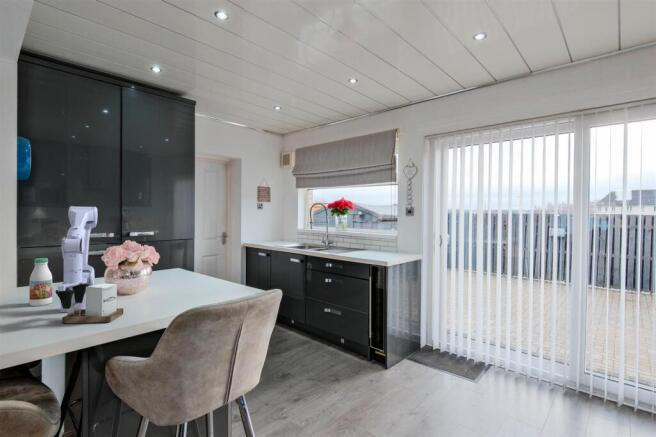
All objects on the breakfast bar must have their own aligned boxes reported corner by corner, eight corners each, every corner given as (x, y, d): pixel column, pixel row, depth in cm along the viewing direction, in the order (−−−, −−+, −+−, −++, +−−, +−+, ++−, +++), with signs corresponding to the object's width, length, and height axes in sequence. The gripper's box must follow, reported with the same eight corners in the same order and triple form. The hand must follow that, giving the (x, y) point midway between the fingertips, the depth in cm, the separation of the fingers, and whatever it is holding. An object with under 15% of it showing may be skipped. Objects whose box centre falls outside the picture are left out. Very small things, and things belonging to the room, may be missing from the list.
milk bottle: (25, 305, 147) (25, 259, 147) (45, 301, 154) (45, 257, 154) (35, 307, 144) (36, 260, 144) (56, 303, 151) (56, 258, 151)
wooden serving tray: (60, 323, 124) (60, 307, 124) (78, 314, 134) (78, 300, 134) (109, 321, 126) (109, 306, 126) (123, 313, 137) (123, 299, 137)
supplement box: (101, 321, 126) (101, 287, 126) (84, 320, 128) (84, 286, 127) (117, 315, 133) (117, 283, 133) (101, 314, 135) (101, 282, 135)
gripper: (73, 273, 122) (72, 311, 123) (95, 266, 137) (94, 300, 137) (51, 273, 121) (51, 311, 122) (75, 266, 136) (75, 300, 136)
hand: (72, 305), depth 129 cm, fingers open, 7 cm apart
